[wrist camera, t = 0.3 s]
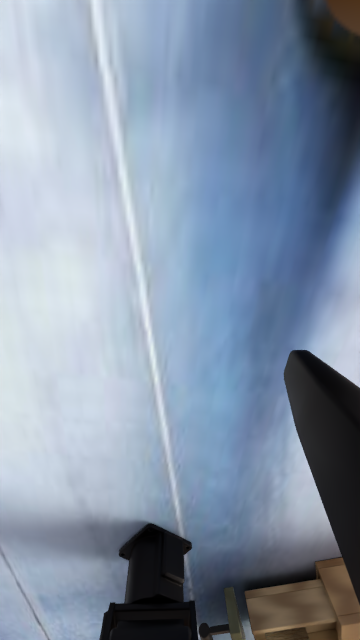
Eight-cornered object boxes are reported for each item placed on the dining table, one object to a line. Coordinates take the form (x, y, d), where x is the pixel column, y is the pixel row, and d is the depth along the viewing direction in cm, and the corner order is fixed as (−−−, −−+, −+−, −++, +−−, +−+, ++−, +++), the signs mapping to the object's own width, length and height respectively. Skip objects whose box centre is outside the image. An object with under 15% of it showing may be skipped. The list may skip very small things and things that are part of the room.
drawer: (209, 642, 42) (213, 688, 38) (192, 593, 37) (195, 639, 33) (337, 622, 41) (355, 667, 37) (336, 569, 36) (357, 614, 32)
